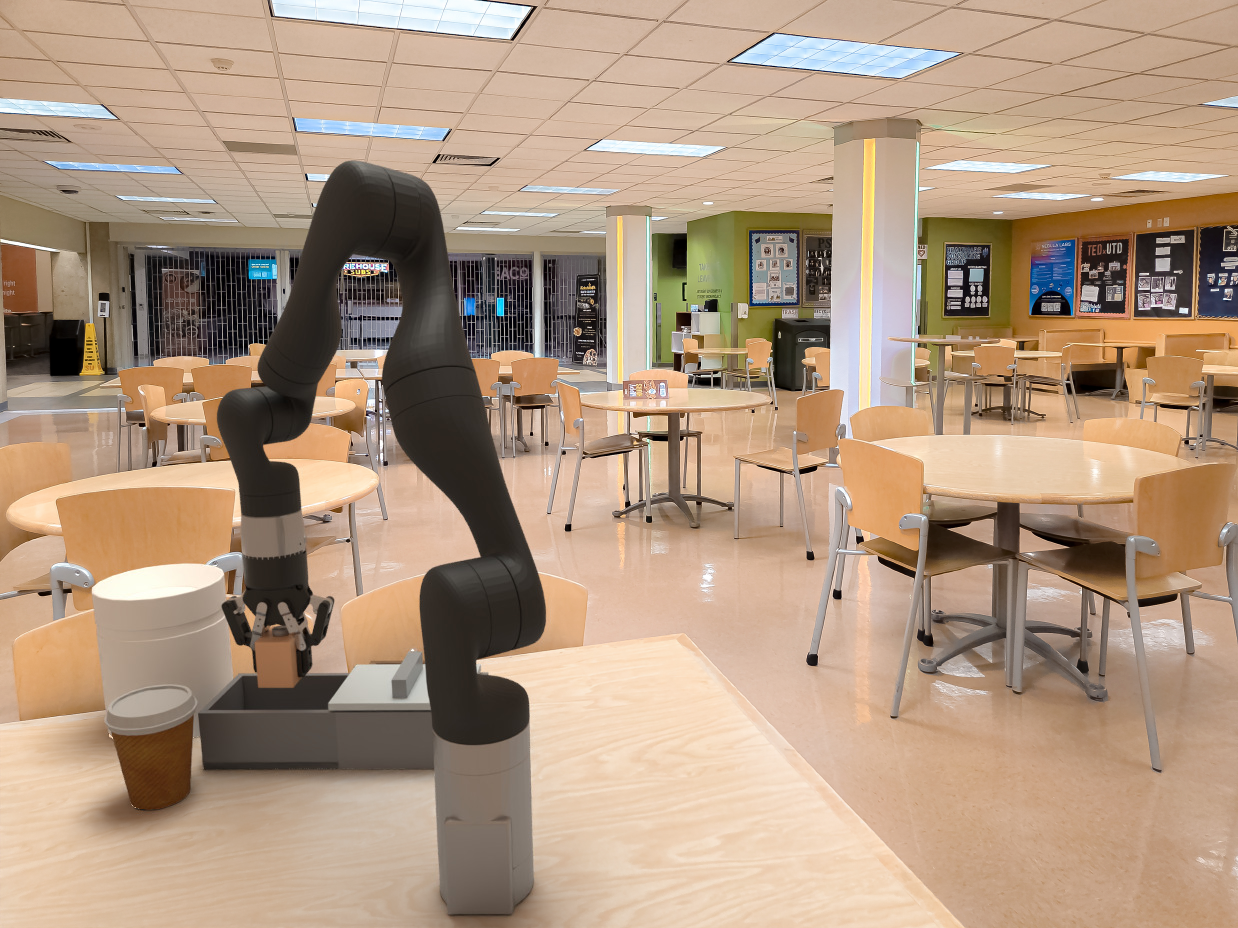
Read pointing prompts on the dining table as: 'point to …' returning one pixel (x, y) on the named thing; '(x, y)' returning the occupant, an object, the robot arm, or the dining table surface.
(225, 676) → the canister
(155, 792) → the disposable coffee cup
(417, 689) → the lid
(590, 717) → the dining table surface
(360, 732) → the frame
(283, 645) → the orange rectangular block
